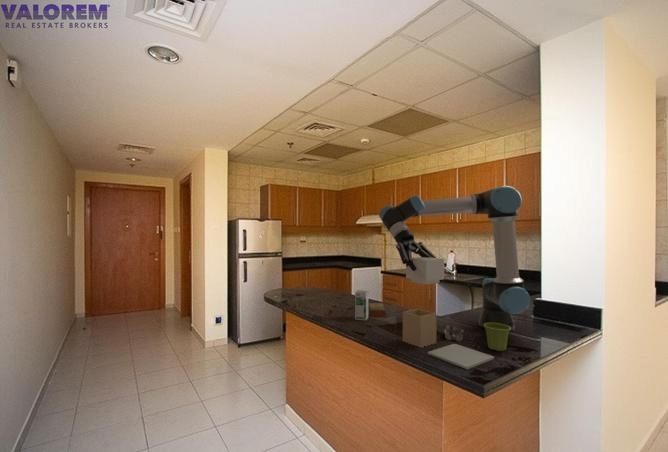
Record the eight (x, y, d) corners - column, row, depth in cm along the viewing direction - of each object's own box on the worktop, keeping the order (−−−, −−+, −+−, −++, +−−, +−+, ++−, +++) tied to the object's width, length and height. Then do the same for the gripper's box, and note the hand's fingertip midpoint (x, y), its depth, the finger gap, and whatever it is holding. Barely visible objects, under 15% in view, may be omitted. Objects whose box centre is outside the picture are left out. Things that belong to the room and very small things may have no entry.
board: (454, 345, 127) (454, 343, 127) (494, 358, 114) (494, 356, 114) (427, 354, 118) (427, 351, 118) (467, 369, 105) (467, 367, 105)
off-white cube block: (423, 279, 135) (423, 256, 136) (444, 283, 127) (444, 258, 127) (405, 281, 130) (405, 257, 130) (426, 285, 121) (426, 259, 121)
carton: (382, 310, 186) (382, 303, 186) (386, 317, 170) (386, 309, 170) (367, 310, 186) (367, 302, 186) (370, 317, 170) (370, 309, 170)
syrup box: (354, 319, 164) (354, 291, 164) (358, 317, 170) (358, 289, 170) (365, 321, 162) (365, 292, 162) (368, 318, 168) (368, 290, 168)
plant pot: (502, 344, 129) (502, 322, 129) (516, 353, 120) (516, 329, 120) (479, 344, 129) (479, 322, 129) (491, 353, 120) (491, 329, 120)
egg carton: (462, 342, 132) (462, 332, 132) (442, 339, 135) (442, 329, 135) (465, 335, 141) (465, 325, 141) (447, 332, 145) (447, 323, 145)
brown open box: (418, 337, 138) (418, 308, 138) (436, 343, 130) (436, 313, 130) (402, 341, 132) (402, 311, 133) (420, 347, 125) (420, 316, 125)
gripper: (415, 240, 148) (444, 279, 134) (377, 241, 135) (404, 284, 122) (424, 228, 143) (455, 267, 130) (386, 228, 131) (415, 271, 117)
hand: (430, 275), depth 126 cm, fingers closed on off-white cube block, 10 cm apart
